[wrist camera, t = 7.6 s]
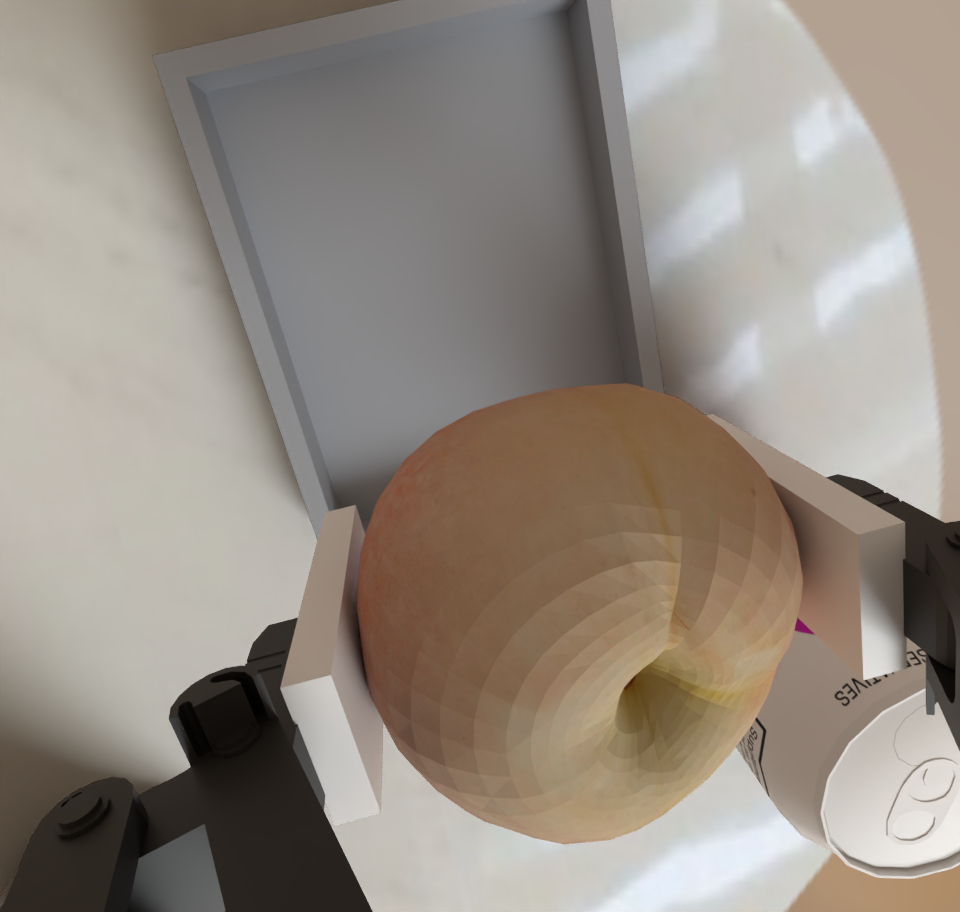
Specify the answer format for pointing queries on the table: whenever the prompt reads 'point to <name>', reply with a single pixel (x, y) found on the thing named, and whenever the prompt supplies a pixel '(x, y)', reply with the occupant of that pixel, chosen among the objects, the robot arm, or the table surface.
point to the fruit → (575, 607)
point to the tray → (419, 219)
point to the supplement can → (859, 761)
